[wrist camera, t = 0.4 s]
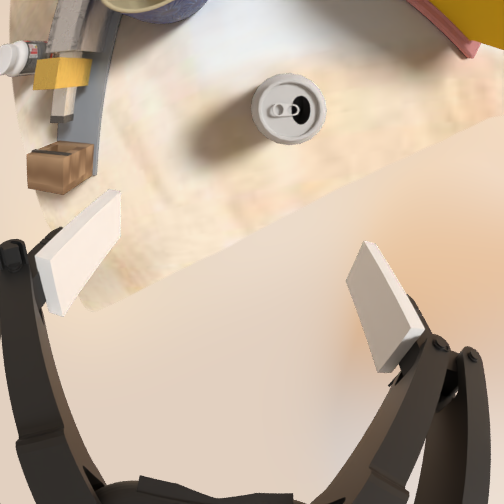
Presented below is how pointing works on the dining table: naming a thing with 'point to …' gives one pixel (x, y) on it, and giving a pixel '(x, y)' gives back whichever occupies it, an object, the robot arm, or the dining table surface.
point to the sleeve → (79, 26)
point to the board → (91, 97)
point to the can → (288, 109)
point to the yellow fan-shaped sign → (466, 21)
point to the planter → (156, 9)
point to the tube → (62, 81)
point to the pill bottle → (22, 57)
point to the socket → (59, 166)
